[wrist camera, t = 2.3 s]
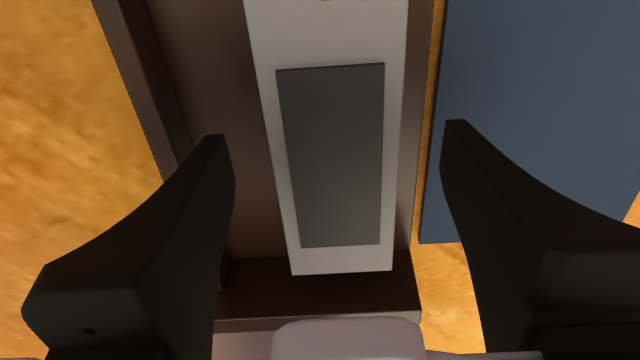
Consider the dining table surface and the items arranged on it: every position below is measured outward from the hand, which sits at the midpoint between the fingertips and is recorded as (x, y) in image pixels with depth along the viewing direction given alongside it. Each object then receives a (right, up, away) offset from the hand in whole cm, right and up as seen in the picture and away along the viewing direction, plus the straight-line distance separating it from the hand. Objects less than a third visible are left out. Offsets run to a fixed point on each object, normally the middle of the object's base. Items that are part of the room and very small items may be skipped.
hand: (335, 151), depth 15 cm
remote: (0, +2, +2) cm, 3 cm away
